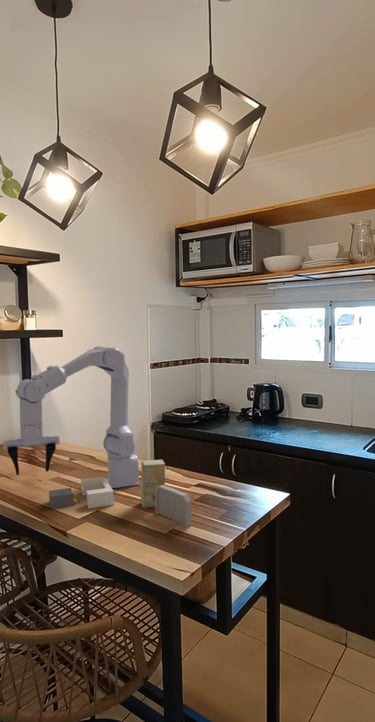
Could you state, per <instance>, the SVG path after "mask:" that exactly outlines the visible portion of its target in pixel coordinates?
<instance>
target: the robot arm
mask: <svg viewBox="0 0 375 722" xmlns="http://www.w3.org/2000/svg"><path fill="white" fill-rule="evenodd" d="M125 358H126V357H125V353H124V352H123V351H121V350H120V349H119V348H117V347H115V346H114V347H112V346H111V347H109V346H108V347H107V346H105V347H104V346H99V345H98V346H95V347H93V348H91V349H88V350H87V351H85V352H84V353H82V354H80V355H79V356H78V357H75V358H74V359H73V360H70V361H69V362H67V363H66V364H64V365H63V366H58V365H54V366H53V365H48V366H46V370H44V371H42V372H40V373H38V374H33V375H32V376H31V379H30V378H29V379H28V378H27V379H24V380H21V381H20V382H19V384H18V385H17V387H16V389H15V395H16V396H17V397H18V399H19V426H20V428H19V429H20V430H19V431H20V438H15V439H8V440H3V441H2V442H3V443H2V447H3V449H2V450H7V453H8V455H9V457H10V458H11V461H12V463H13V466H14V469H15V475H16V476H18V475H20V468H19V452H18V449H19V448H29V447H37V446H38V447H39V446H40V447H41V446H45V448H44V449H45V472H49V470H50V464H51V461H52V458H53V455H54V453H55V451H56V448H57V446H59V445H60V436H59V435H57V436H56V435H55V436H43V435H44V434H43V399H44V398H45V396H46V394H49V393H51V391H54V390H55V389H57V388H58V387H61V386H62V385H64V384H65V383H66V382H67V378H68V377H70V376H73V375H74V374H76V373H79V372H81V371H82V370H84V369H86V368H88V367H93V366H94V367H97V368H99V369H101V370H104V371H105V372H106V374H107V375H109V376H110V412H109V413H110V415H109V417H110V419H109V420H110V421H109V423H110V424H109V427H108V428H107V429H106V430H105V437H104V439H103V448H104V450H105V451H106V455H107V478H106V480H107V482H108V483H109V485H110V486H111V488H112V489H114V488H115V489H116V488H124V487H130V486H138V485H140V482H139V477H140V476H139V458H138V455H137V454H133V453H134V452H135V450H136V442H135V440H134V433H133V431H132V430H131V428H129V427H130V426H129V425H128V424H129V420H128V419H129V373H130V371H129V368H128V365H127V363H126V360H125Z"/></svg>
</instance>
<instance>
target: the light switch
mask: <svg viewBox="0 0 375 722" xmlns="http://www.w3.org/2000/svg"><path fill="white" fill-rule="evenodd" d="M154 509H155V511H154V512H155V513H154V514H156V515H162V516H164V517H166V518H168V519H170V520H173V521H175V522H176V523H179V524H181V525H182V526H183V527H186V528H188V527H190V526H192V499H191V498H190V496H189V494H188V493H187V492H183V491H181V490H178V489H176V488H173V487H170V486H169V485H161V486H158V487H157V489H156V490H155V507H154Z"/></svg>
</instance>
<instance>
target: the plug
mask: <svg viewBox="0 0 375 722" xmlns="http://www.w3.org/2000/svg"><path fill="white" fill-rule="evenodd" d="M48 493H49V494H48V497H49V500H48V501H49V506H50V509H56V508H63V507H70V506H74V503H76V502H78V498H77V497H76V496H77V492H73V491H72V488H71V487H67V488H59V489H52V490H51V489H50V490H49V491H48Z"/></svg>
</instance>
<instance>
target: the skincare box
mask: <svg viewBox="0 0 375 722" xmlns="http://www.w3.org/2000/svg"><path fill="white" fill-rule="evenodd" d="M140 467H141V468H140V470H141V471H140V472H141V473H140V480H141V481H140V503H141V507H142V508H155V490H156V489H157V487H158V486H161V485H165V484H166V463H165V461H164V460H163V459H150V460H141V466H140ZM165 486H166V485H165Z"/></svg>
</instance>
